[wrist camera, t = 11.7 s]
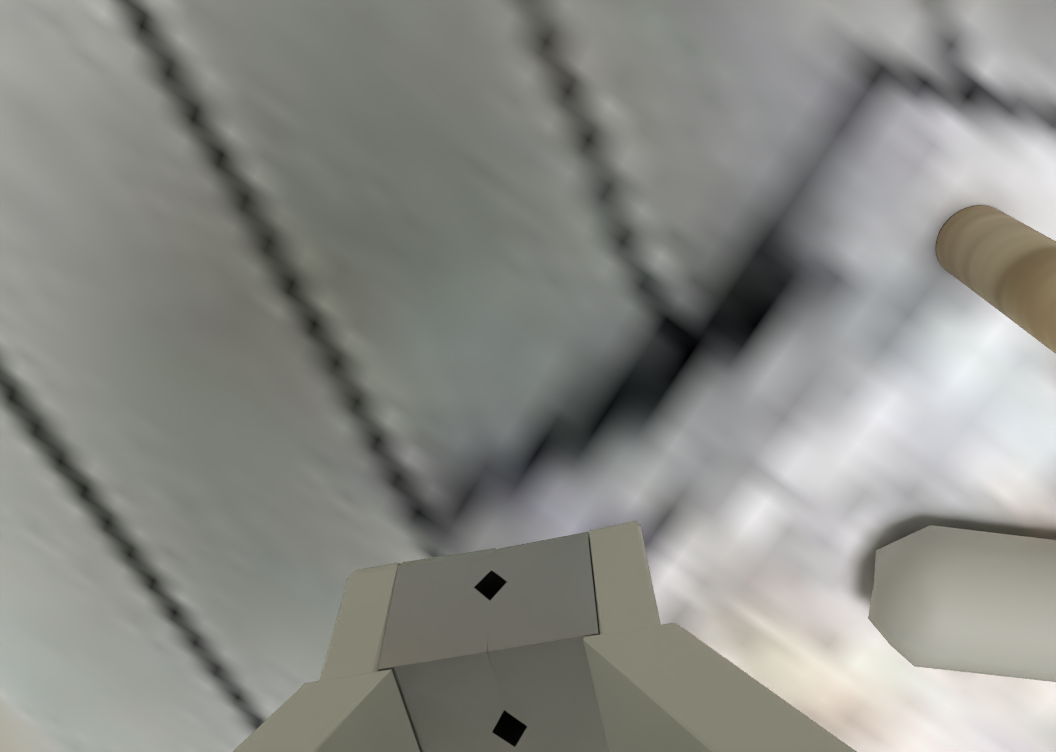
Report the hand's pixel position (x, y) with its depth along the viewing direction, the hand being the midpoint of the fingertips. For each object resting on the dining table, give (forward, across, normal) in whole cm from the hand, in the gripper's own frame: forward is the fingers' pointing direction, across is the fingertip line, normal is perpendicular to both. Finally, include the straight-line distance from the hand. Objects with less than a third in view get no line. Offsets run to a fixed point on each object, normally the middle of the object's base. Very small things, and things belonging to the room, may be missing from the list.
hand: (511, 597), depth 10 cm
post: (+21, +14, -6) cm, 26 cm away
